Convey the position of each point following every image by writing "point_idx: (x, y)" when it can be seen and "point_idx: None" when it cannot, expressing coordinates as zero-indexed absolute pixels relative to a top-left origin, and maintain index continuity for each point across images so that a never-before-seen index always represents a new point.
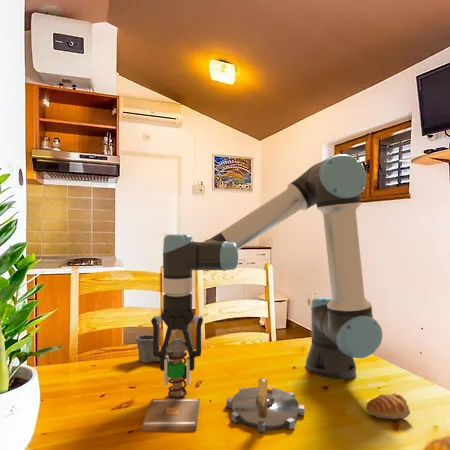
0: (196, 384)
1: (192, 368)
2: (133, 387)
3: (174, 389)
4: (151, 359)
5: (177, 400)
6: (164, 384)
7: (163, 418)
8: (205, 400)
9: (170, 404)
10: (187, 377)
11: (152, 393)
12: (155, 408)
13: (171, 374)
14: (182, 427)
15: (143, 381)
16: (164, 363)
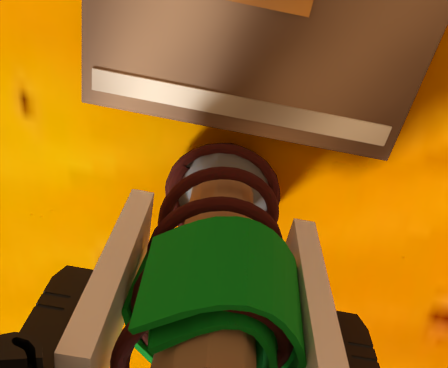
0: None
1: (67, 280)
2: (442, 314)
3: (241, 193)
4: None
5: (228, 103)
6: (313, 223)
7: None
8: (56, 112)
9: (279, 62)
10: (133, 224)
11: (357, 244)
12: (390, 29)
13: (270, 250)
14: None
15: (380, 352)
16: (346, 360)
